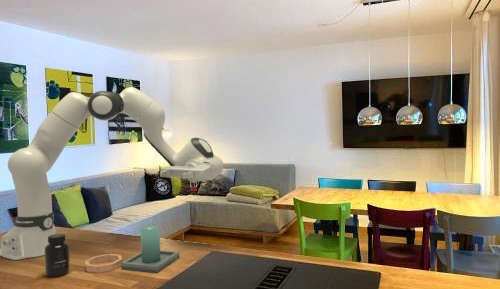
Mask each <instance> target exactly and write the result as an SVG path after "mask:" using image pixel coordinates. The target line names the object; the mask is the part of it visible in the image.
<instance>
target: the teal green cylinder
mask: <svg viewBox="0 0 500 289" xmlns="http://www.w3.org/2000/svg"><path fill="white" fill-rule="evenodd" d="M160 235H161V234H160V226H159V225H158V224H147V225H143V226H141V227H140V247H141V249H140V250H141V251H140V252H141V254H142V262H143V263H155V262H158V261H160V250H161V240H160V239H161V238H160Z"/></svg>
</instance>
